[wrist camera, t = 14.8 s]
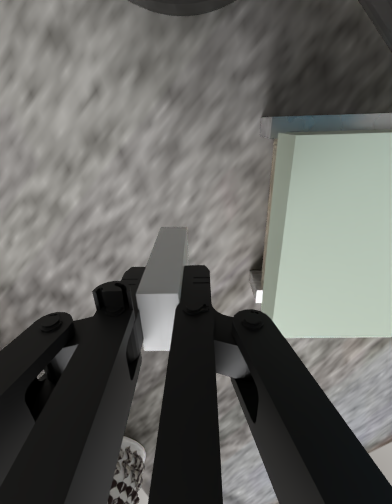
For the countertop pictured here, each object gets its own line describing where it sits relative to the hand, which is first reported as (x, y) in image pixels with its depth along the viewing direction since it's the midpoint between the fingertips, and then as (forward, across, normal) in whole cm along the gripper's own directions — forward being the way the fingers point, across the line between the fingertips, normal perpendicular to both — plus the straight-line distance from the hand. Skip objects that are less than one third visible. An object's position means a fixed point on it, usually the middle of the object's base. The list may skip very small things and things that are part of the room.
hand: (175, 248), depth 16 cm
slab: (+2, -13, 0) cm, 13 cm away
